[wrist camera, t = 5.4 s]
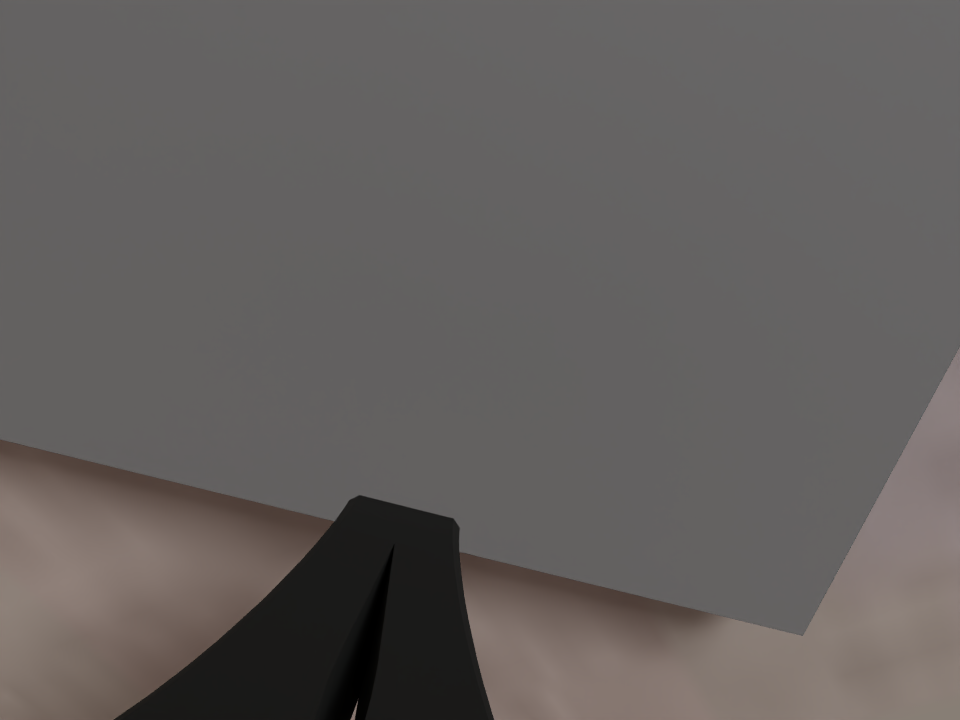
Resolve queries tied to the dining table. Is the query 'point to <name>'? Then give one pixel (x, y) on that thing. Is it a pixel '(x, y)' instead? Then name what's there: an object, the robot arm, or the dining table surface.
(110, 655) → the dining table surface
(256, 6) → the loose plank
